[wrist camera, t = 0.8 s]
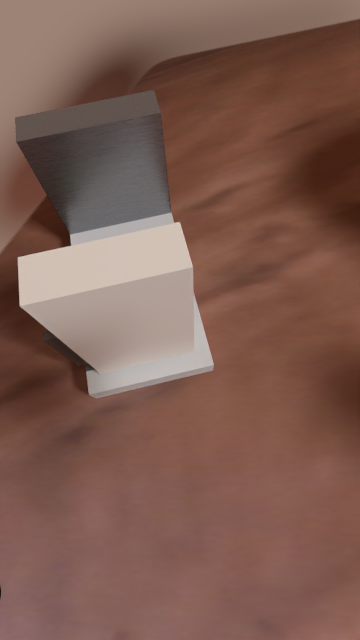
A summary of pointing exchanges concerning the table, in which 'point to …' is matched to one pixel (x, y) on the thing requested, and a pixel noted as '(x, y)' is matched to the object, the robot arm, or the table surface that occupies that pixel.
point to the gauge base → (158, 369)
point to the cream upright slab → (114, 298)
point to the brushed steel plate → (99, 160)
